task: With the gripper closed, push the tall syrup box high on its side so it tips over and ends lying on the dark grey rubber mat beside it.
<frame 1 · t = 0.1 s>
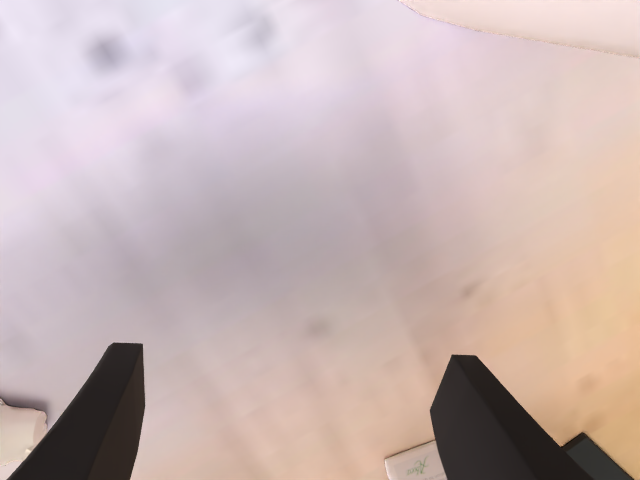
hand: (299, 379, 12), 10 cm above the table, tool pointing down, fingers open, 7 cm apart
syrup box: (442, 470, 30), on the table
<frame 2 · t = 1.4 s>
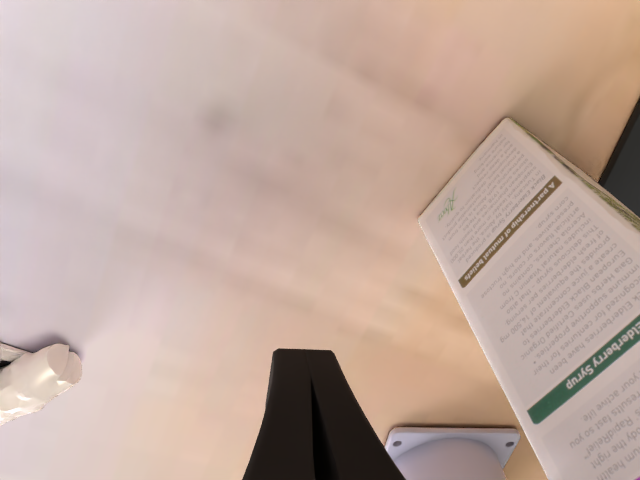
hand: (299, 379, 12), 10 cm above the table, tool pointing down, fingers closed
syrup box: (503, 195, 23), on the table
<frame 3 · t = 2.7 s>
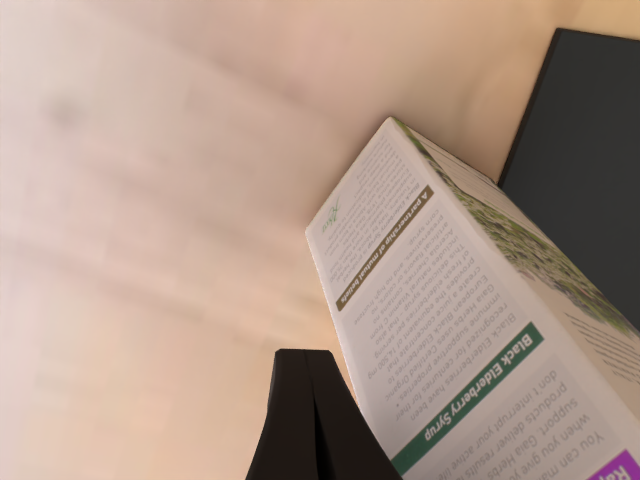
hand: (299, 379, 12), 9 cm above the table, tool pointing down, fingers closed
syrup box: (398, 200, 21), on the table, touching gripper
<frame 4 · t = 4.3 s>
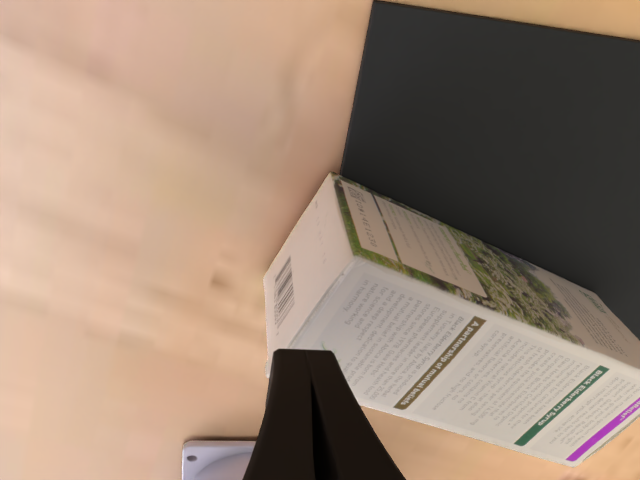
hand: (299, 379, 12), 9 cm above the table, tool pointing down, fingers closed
rubber mat: (547, 212, 22), on the table
syrup box: (293, 264, 18), point 3 cm above the table, touching rubber mat
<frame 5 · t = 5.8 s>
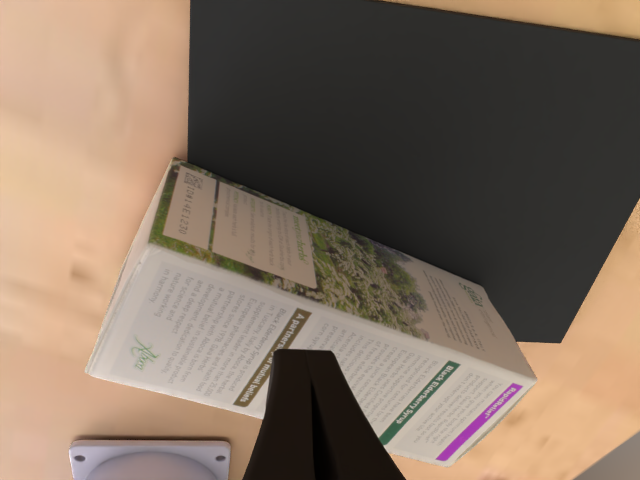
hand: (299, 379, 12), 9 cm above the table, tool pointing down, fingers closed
rubber mat: (420, 200, 21), on the table
syrup box: (123, 253, 17), point 3 cm above the table, touching rubber mat
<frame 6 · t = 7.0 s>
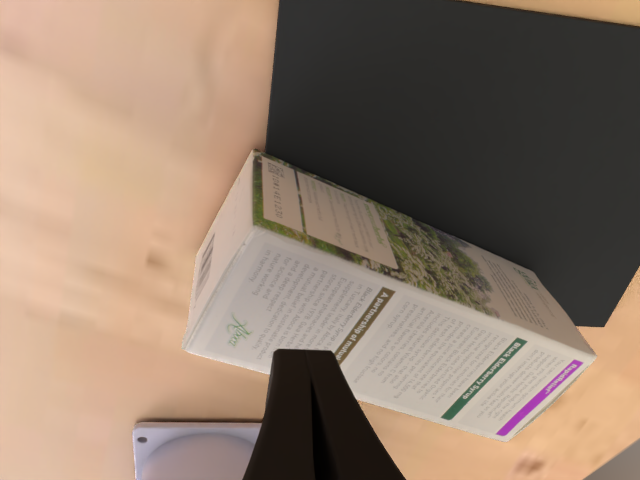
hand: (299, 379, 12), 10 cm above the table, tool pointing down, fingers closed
rubber mat: (478, 189, 22), on the table
syrup box: (212, 238, 18), point 3 cm above the table, touching rubber mat
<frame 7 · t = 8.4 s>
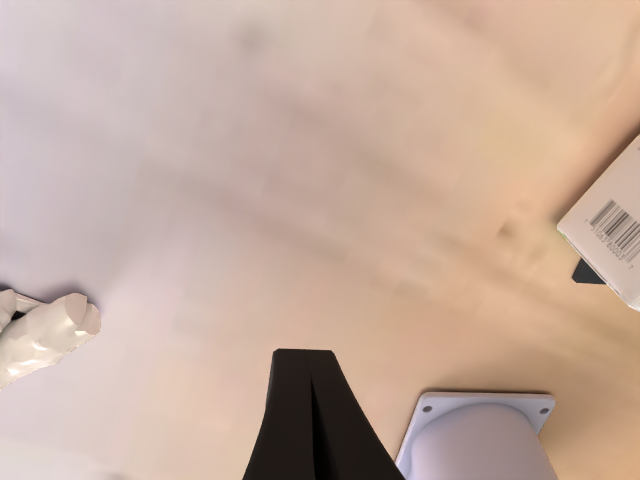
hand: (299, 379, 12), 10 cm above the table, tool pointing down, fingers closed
syrup box: (637, 203, 20), point 3 cm above the table, touching rubber mat
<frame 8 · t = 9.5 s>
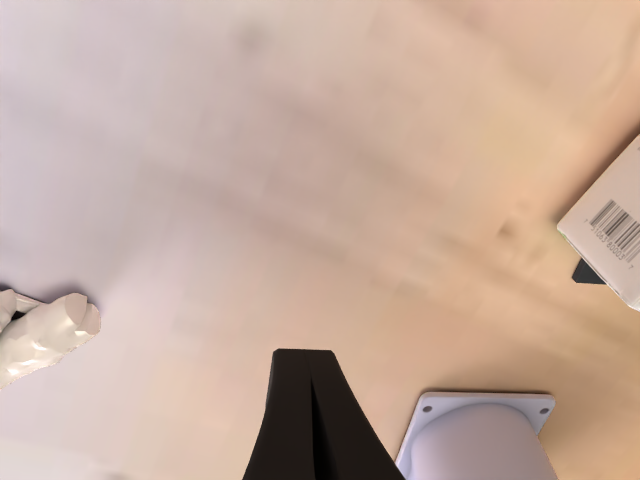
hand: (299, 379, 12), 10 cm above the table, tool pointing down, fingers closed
syrup box: (637, 203, 20), point 3 cm above the table, touching rubber mat
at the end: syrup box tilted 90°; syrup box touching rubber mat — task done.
